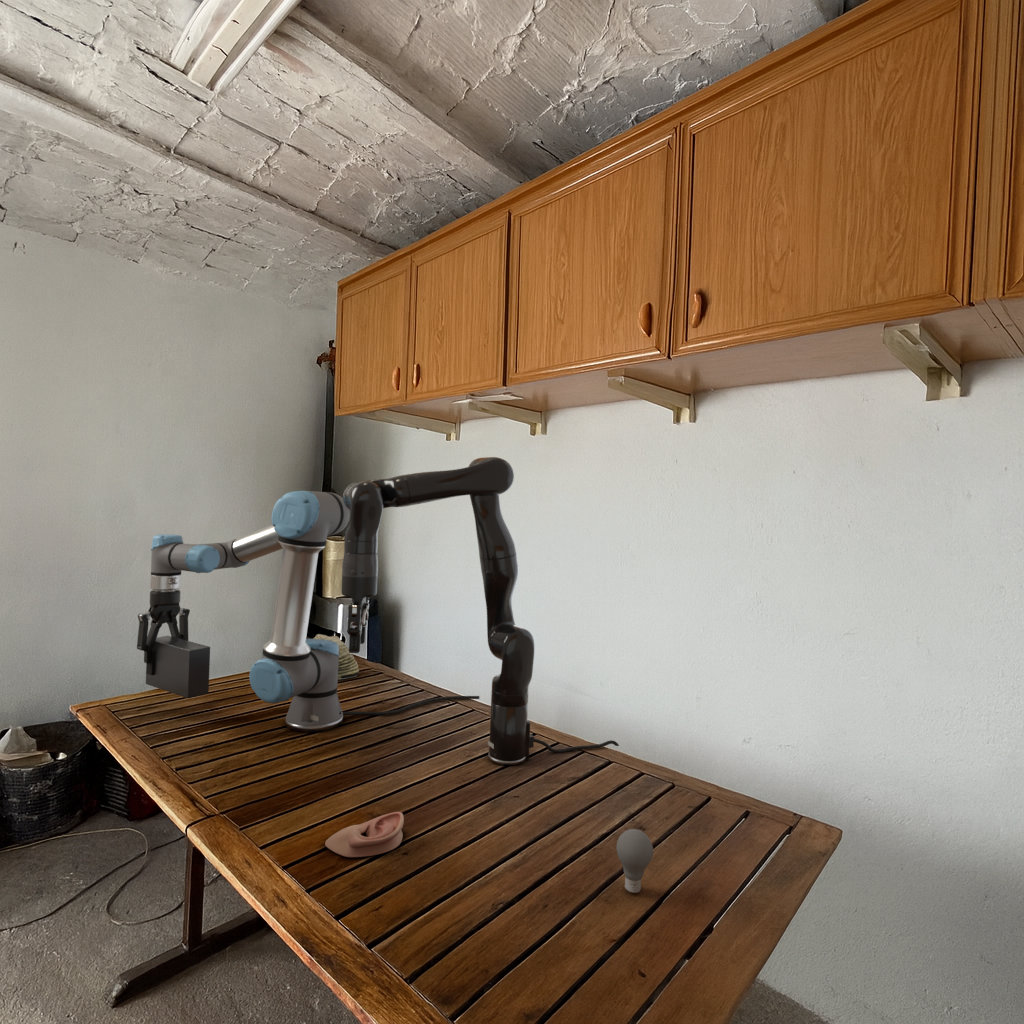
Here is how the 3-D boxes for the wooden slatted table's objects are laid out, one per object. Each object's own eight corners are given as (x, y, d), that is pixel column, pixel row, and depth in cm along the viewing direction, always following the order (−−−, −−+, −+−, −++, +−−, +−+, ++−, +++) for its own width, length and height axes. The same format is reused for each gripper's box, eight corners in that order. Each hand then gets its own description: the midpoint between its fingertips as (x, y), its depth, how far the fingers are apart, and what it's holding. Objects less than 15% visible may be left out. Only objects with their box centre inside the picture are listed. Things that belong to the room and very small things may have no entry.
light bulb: (610, 879, 108) (613, 822, 108) (644, 879, 109) (647, 822, 109) (619, 902, 102) (622, 840, 102) (655, 901, 103) (658, 840, 103)
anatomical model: (317, 830, 113) (346, 800, 124) (316, 852, 113) (345, 821, 124) (387, 841, 110) (410, 810, 121) (386, 864, 110) (410, 831, 121)
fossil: (300, 678, 217) (301, 634, 217) (349, 670, 229) (351, 629, 229) (311, 684, 210) (313, 639, 210) (361, 676, 223) (363, 633, 222)
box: (145, 684, 177) (147, 638, 177) (166, 679, 182) (167, 635, 182) (187, 698, 166) (189, 650, 166) (208, 693, 171) (210, 646, 171)
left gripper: (138, 594, 167) (134, 681, 168) (205, 588, 183) (201, 667, 184) (123, 591, 171) (119, 676, 172) (189, 585, 187) (186, 662, 188)
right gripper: (374, 578, 130) (371, 656, 131) (380, 570, 145) (377, 640, 145) (336, 577, 130) (333, 655, 130) (347, 569, 144) (344, 640, 144)
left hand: (162, 671), depth 178 cm, fingers closed on box, 6 cm apart
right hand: (357, 647), depth 137 cm, fingers open, 8 cm apart
